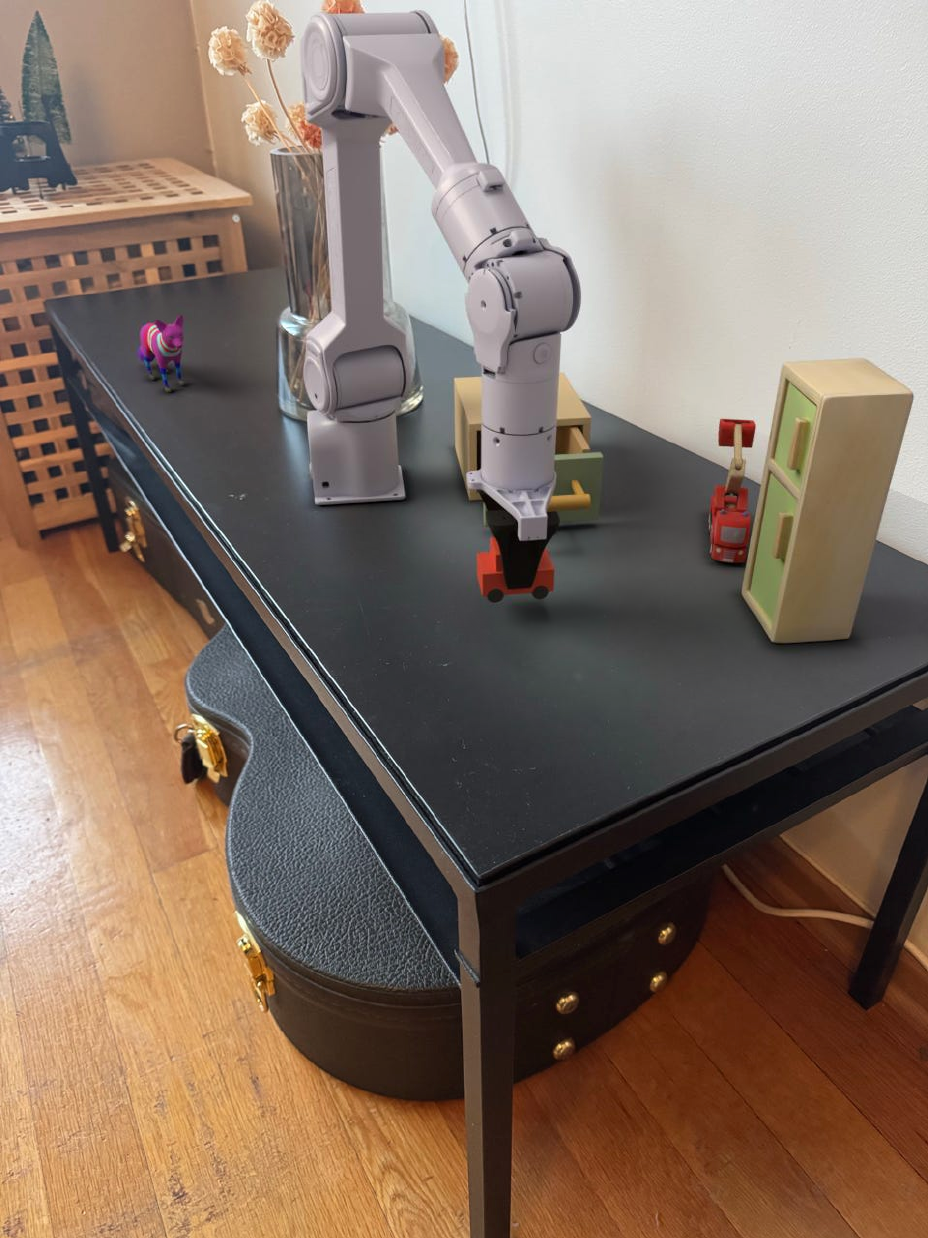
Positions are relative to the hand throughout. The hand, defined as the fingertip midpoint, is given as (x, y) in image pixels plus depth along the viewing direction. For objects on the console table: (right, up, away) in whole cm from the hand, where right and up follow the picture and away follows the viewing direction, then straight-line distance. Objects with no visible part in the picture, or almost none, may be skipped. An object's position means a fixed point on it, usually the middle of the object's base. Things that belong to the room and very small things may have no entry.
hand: (514, 573), depth 76 cm
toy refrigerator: (+23, -4, +1) cm, 24 cm away
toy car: (0, -1, +1) cm, 2 cm away
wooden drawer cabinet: (+2, +13, +25) cm, 29 cm away
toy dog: (-46, +29, +51) cm, 75 cm away
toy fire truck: (+22, +5, +13) cm, 26 cm away
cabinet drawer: (+3, +8, +16) cm, 18 cm away
